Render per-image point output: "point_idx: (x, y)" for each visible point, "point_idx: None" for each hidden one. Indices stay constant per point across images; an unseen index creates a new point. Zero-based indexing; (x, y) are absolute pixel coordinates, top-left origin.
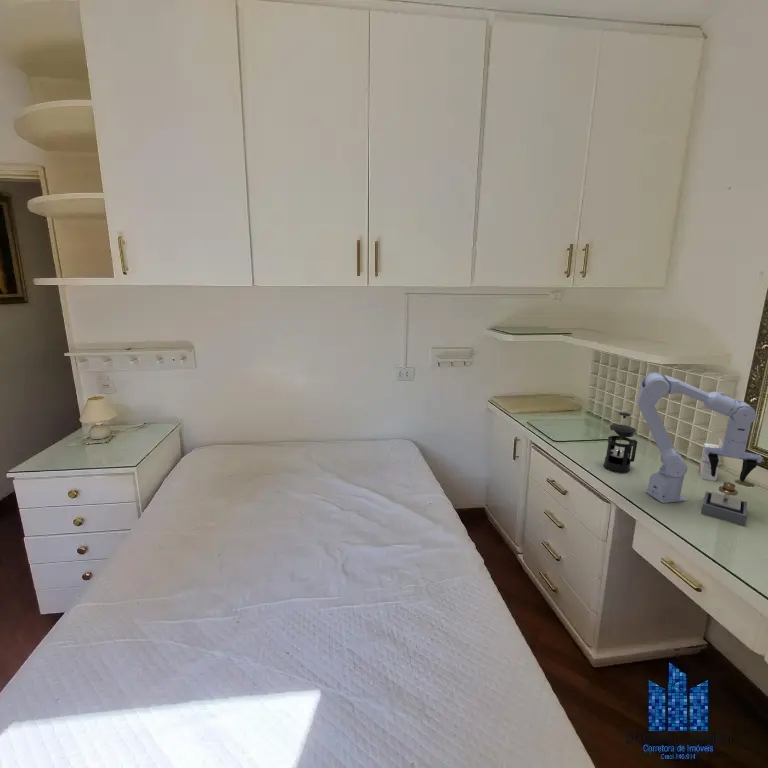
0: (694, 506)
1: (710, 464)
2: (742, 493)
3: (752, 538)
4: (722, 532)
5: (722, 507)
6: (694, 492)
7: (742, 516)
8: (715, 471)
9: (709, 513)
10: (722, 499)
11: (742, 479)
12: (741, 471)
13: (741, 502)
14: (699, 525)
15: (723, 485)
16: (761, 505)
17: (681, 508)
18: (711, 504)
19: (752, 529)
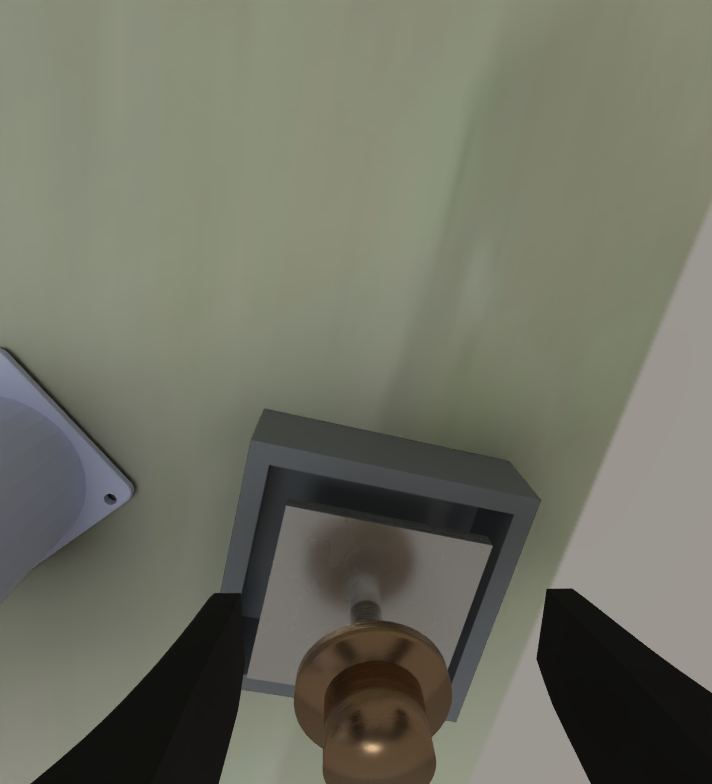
0: (190, 540)
1: (123, 709)
2: (618, 84)
3: (441, 758)
4: (307, 768)
5: (370, 485)
6: (209, 281)
7: None
8: (217, 768)
9: None
10: (342, 612)
11: (556, 696)
12: (614, 665)
13: (497, 505)
14: None
15: (323, 746)
16: (675, 288)
17: (108, 607)
18: (304, 472)
19: None
